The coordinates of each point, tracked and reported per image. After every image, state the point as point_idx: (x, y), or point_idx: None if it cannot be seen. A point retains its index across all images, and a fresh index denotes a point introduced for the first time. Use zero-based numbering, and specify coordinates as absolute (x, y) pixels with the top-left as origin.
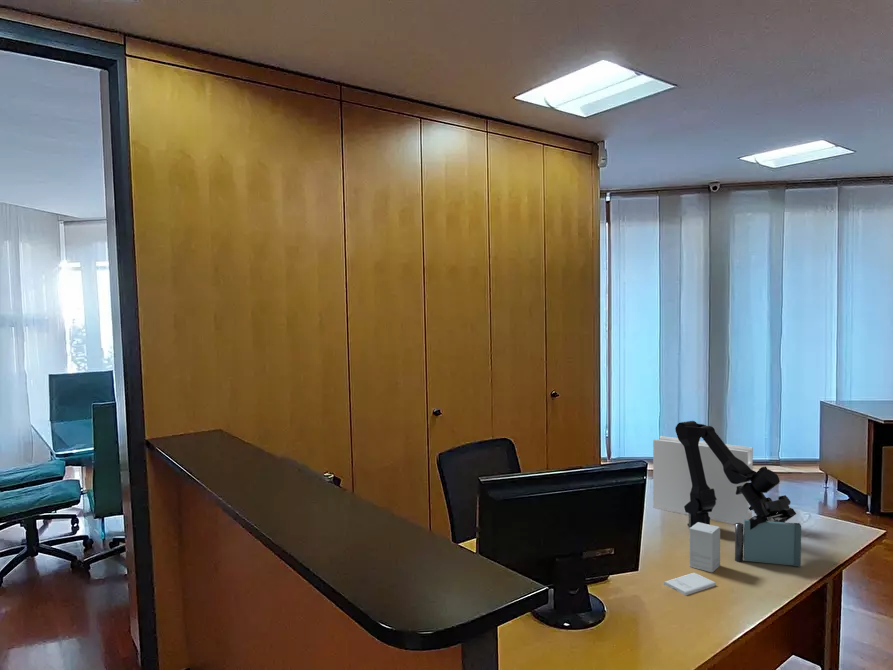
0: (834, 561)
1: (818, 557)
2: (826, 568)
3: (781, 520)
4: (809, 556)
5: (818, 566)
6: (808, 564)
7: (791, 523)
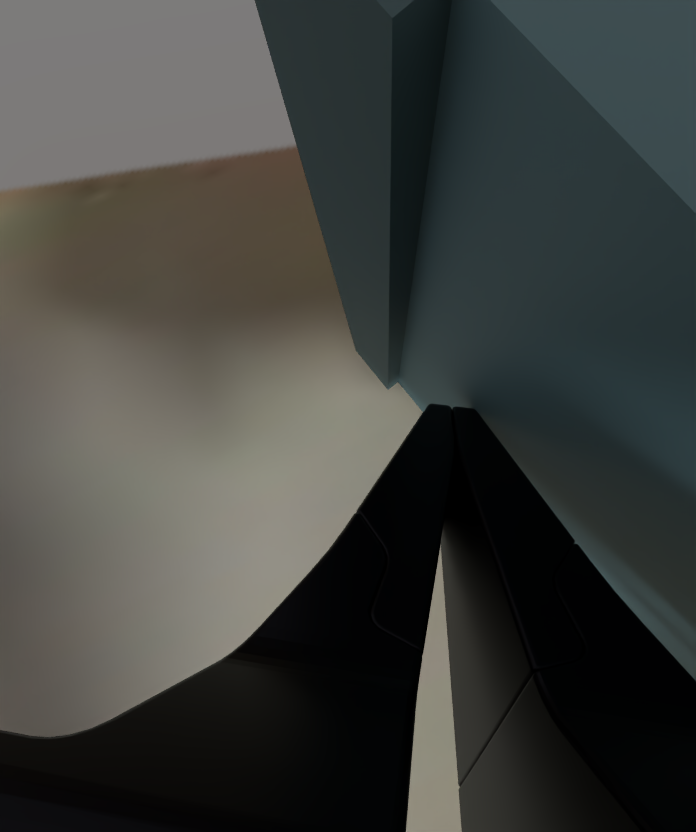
0: (27, 212)
1: (43, 336)
2: (231, 176)
3: (375, 821)
4: (82, 396)
5: (243, 236)
6: (271, 309)
7: (665, 13)
